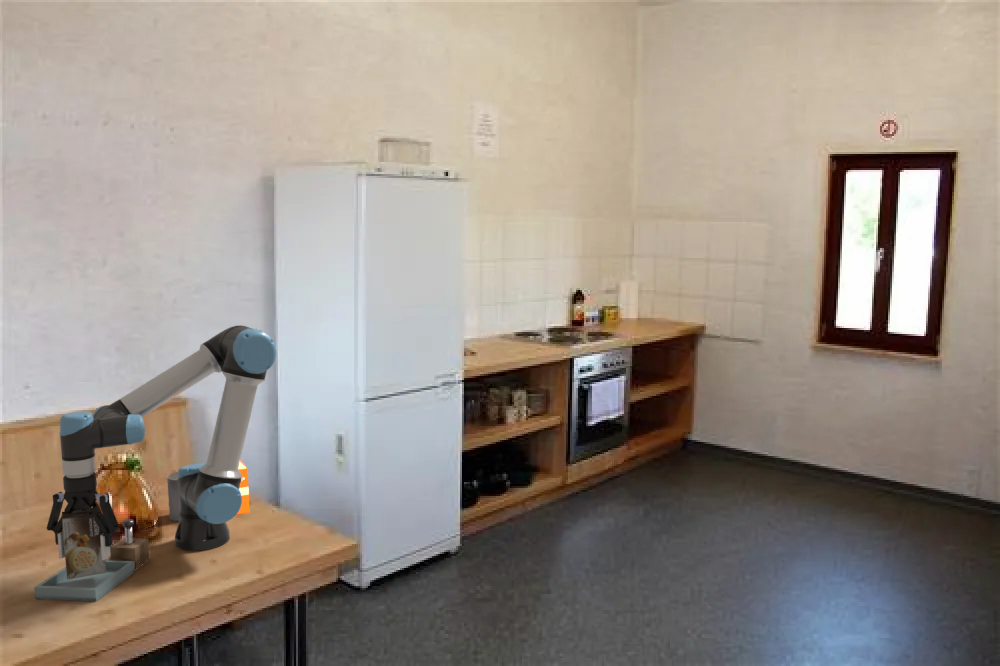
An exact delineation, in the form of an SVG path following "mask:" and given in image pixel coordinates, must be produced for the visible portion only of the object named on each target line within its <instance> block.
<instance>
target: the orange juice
mask: <svg viewBox="0 0 1000 666" xmlns="http://www.w3.org/2000/svg"><path fill="white" fill-rule="evenodd" d="M238 469H239V471H240V473H241V474H242V479H241V484H240V488H239V491H240V492H241V496H242V505H241V508H240V510H239V512H238V513H237V515H238V516H239V515H242V514H249V513H250V489H249V469H248V467H247V466H246V465H245V463H243V461H241V459H240V463H239V467H238ZM237 515H236V516H237Z"/></svg>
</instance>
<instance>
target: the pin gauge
mask: <svg viewBox="0 0 1000 666" xmlns="http://www.w3.org/2000/svg"><path fill="white" fill-rule="evenodd" d="M134 525H135V520H134V519H133V518H128V519H124V520H122V527H123V528H124V535H125V536H124V538H126V545H132V544H133V538H134V537H133V526H134Z"/></svg>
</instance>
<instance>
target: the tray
mask: <svg viewBox="0 0 1000 666" xmlns="http://www.w3.org/2000/svg"><path fill="white" fill-rule="evenodd" d="M105 566H106V573H102V574H97V575H91V576H85V577H80V578H74V579H69V580H67V574H66V566H64V567H63V568H61V569H60V570H58V571H57V572H55V573H53V574H52V575H50V576H49V577H48V578H46V579H44V580H43V581H42V582H40V583H38V584H37V585H36V586H34V587H33V588H34V590H33V591H34V599H35V600H51V601H52V600H53V601H55V600H56V601H58V600H59V601H75V602H76V601H77V602H78V601H79V602H98V601H99V600H100V599H102V598H103V597H105V595H107V594H108V593H109V592H112V590H113V589H114V588H115V589H116V587H117V586H118V585H120V584H122V582H124V581H125V580H126V579H128V578H129V577H130V576H132V575H133V574H134V573H135V571H136V570H135V564H134V561H116V560H111V559H106V560H105ZM133 572H134V573H133ZM132 573H133V574H132ZM131 574H132V575H131ZM128 576H129V577H128ZM127 577H128V578H127Z"/></svg>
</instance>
